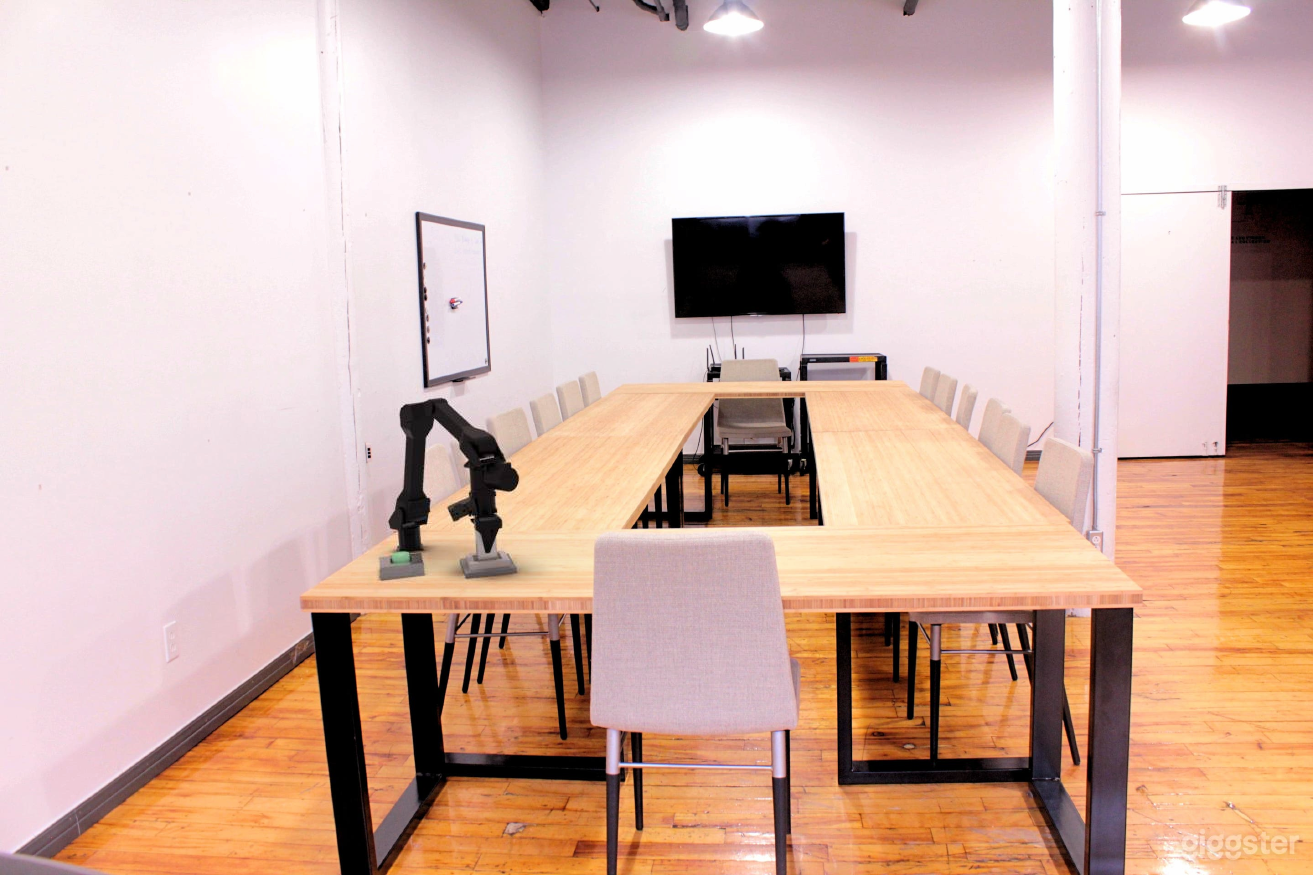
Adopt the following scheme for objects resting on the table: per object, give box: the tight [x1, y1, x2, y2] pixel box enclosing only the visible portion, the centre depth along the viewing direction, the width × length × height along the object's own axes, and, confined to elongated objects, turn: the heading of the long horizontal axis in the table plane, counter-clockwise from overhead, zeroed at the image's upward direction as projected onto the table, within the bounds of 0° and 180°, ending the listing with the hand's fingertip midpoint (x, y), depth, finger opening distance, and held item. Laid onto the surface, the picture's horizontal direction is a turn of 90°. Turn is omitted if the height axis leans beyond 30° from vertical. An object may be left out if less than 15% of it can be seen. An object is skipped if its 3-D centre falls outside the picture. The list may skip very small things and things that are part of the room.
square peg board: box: [378, 552, 425, 581], centre depth 238 cm, size 10×10×3 cm
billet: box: [474, 529, 498, 562], centre depth 238 cm, size 4×4×8 cm
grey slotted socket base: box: [459, 549, 518, 579], centre depth 239 cm, size 14×12×3 cm
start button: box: [391, 551, 410, 563], centre depth 238 cm, size 4×4×4 cm
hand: (486, 550), depth 238 cm, fingers closed on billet, 4 cm apart
